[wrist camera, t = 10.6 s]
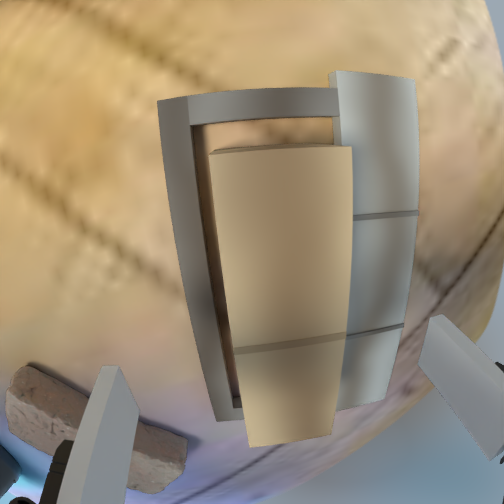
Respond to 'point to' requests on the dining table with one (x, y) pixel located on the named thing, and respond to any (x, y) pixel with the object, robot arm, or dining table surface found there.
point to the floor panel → (364, 216)
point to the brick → (68, 421)
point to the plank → (286, 281)
